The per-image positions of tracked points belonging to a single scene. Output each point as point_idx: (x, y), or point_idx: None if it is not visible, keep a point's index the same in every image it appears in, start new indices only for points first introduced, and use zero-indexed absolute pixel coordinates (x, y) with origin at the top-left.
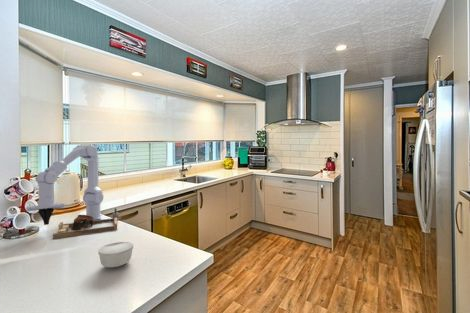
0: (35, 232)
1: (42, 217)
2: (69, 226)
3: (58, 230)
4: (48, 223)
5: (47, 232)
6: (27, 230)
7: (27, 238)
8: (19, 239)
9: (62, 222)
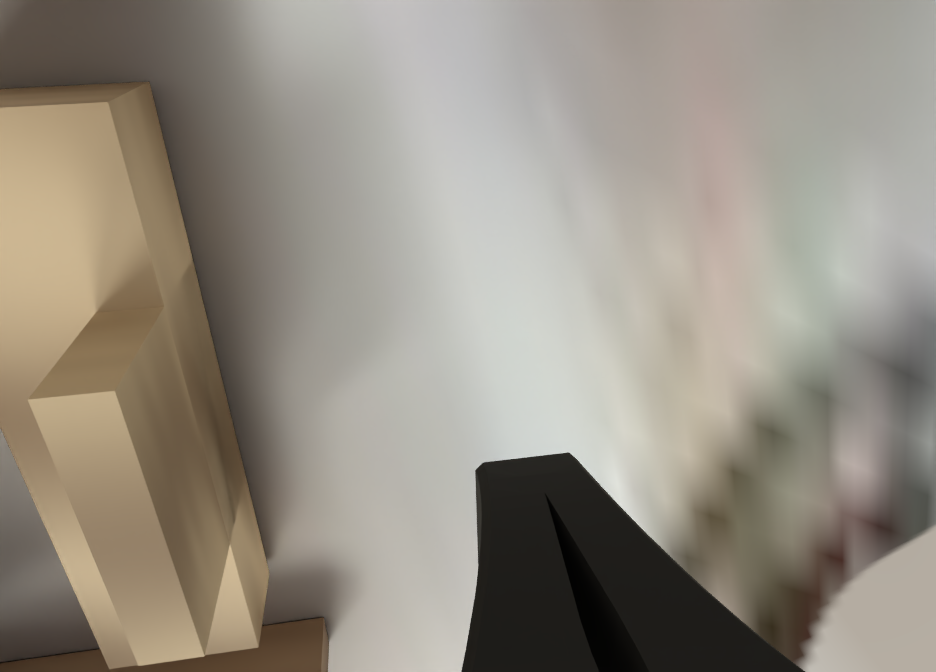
0: (691, 546)
1: (770, 665)
2: (158, 665)
3: (131, 233)
4: (478, 535)
5: None
6: (803, 665)
7: (783, 223)
8: (907, 219)
9: (130, 626)
